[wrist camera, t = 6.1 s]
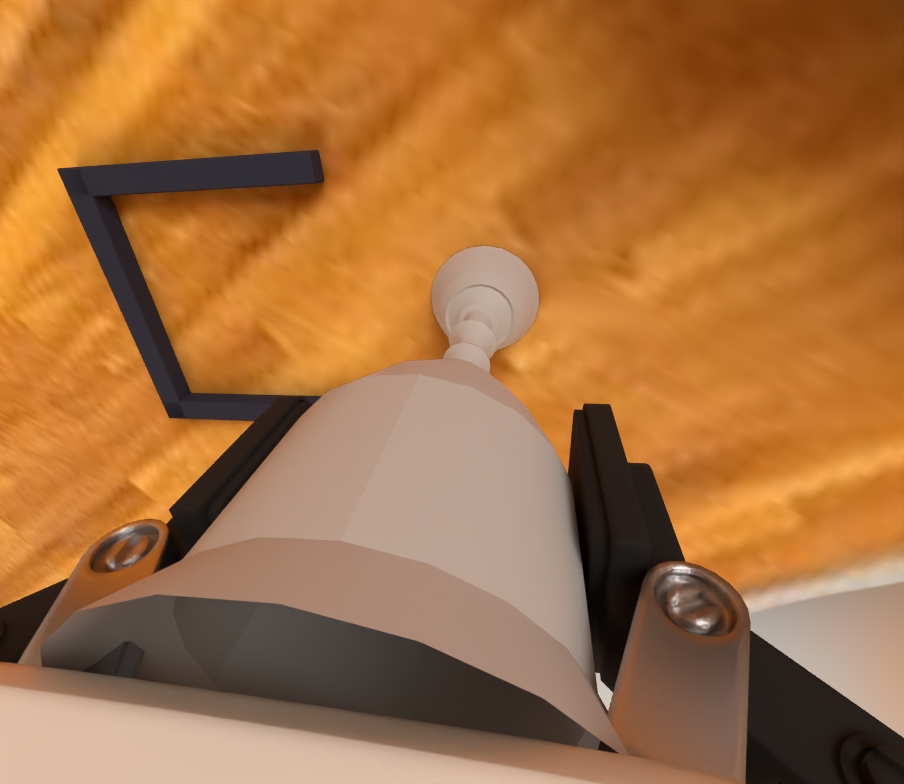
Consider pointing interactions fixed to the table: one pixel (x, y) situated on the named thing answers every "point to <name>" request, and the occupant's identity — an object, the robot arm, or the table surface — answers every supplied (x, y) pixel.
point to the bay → (125, 276)
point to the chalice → (390, 552)
